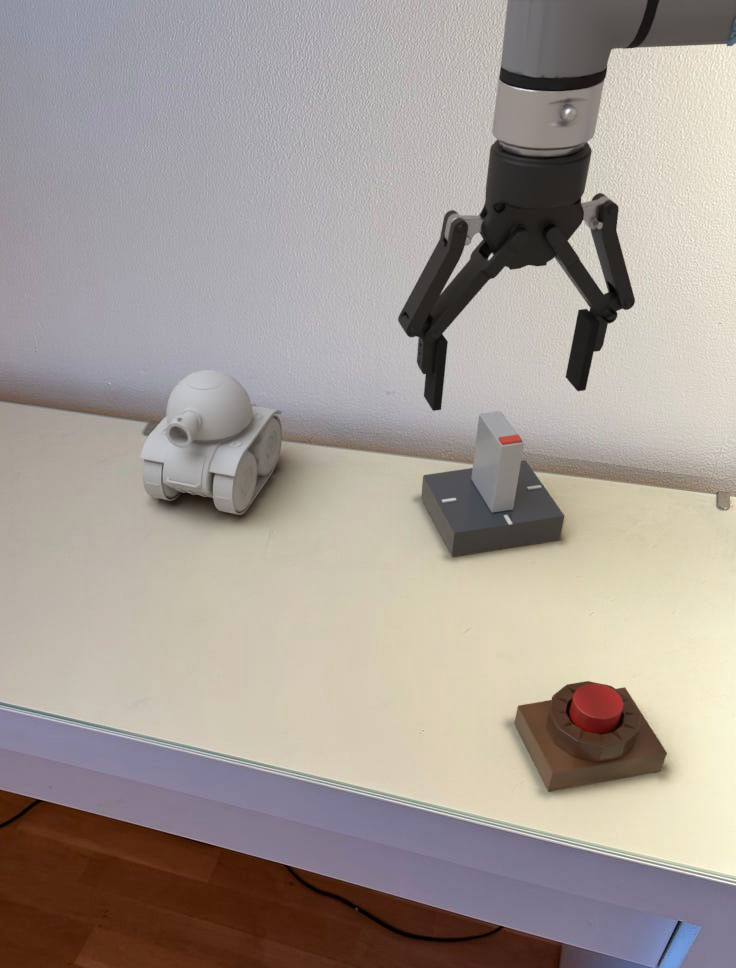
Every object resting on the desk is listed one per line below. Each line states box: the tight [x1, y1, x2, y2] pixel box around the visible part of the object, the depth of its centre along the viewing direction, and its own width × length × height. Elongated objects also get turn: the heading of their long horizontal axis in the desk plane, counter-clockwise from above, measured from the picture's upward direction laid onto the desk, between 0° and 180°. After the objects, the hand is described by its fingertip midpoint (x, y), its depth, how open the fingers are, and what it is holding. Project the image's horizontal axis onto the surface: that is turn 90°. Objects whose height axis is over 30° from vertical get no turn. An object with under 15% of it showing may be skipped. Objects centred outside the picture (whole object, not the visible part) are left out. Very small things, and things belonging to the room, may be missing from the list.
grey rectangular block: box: [471, 410, 525, 513], centre depth 92 cm, size 6×2×8 cm, turn 10°
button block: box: [513, 680, 668, 792], centre depth 74 cm, size 9×7×4 cm
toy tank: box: [139, 369, 283, 516], centre depth 100 cm, size 15×11×13 cm
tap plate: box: [420, 459, 566, 558], centre depth 96 cm, size 11×10×3 cm
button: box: [570, 683, 623, 734], centre depth 72 cm, size 4×4×2 cm
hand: (504, 393), depth 87 cm, fingers open, 13 cm apart
